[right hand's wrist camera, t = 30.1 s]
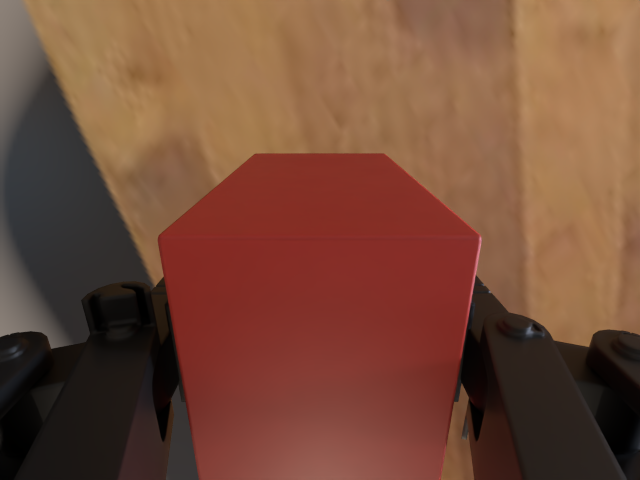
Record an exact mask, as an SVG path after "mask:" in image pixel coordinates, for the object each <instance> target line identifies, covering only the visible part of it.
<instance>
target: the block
mask: <svg viewBox="0 0 640 480" xmlns="http://www.w3.org/2000/svg"><path fill="white" fill-rule="evenodd" d="M481 241H482V239H481V235H480V234H478V233H477V232H476V231H475V230H474V229H473V228H471V227H470V226H469V225H468V224H467V223H466V222H464V221H463V220H462V219H461V218H460V217H458V216H457V215H456V214H455V213H454V212H453V211H451V210H450V209H449V208H448V207H447V206H446V205H444V204H443V203H442V202H441V201H440V200H438V199H437V198H436V197H435V196H434V195H433V194H431V193H430V192H429V191H428V190H427V189H426V188H424V187H423V186H422V185H421V184H420V183H418V182H417V181H416V180H415V179H414V178H413V177H411V176H410V175H409V174H408V173H407V172H406V171H404V170H403V169H402V168H401V167H400V166H398V165H397V164H396V163H395V162H394V161H393V160H391V159H390V158H389V157H388V156H387V155H386V154H254V155H253V156H252V157H251V158H249V159H248V160H247V161H246V162H245V163H244V164H242V165H241V166H240V167H239V168H238V169H236V170H235V171H234V172H233V173H232V174H231V175H229V176H228V177H227V178H226V179H225V180H224V181H222V182H221V183H220V184H219V185H218V186H216V187H215V188H214V189H213V190H212V191H211V192H209V193H208V194H207V195H206V196H205V197H203V198H202V199H201V200H200V201H199V202H198V203H196V204H195V205H194V206H193V207H192V208H191V209H189V210H188V211H187V212H186V213H185V214H183V215H182V216H181V217H180V218H179V219H178V220H176V221H175V222H174V223H173V224H172V225H170V226H169V227H168V228H167V229H166V230H165V231H163V232H162V233H161V234H160V235H159V237H158V245H159V251H160V256H161V262H162V268H163V274H164V280H165V285H166V291H167V297H168V303H169V308H170V314H171V320H172V326H173V331H174V337H175V343H176V349H177V355H178V360H179V366H180V372H181V378H182V383H183V389H184V395H185V401H186V407H187V412H188V418H189V424H190V429H191V435H192V441H193V447H194V453H195V458H196V464H197V470H198V476H199V480H441V474H442V468H443V462H444V457H445V451H446V445H447V439H448V433H449V427H450V422H451V416H452V410H453V404H454V398H455V392H456V387H457V381H458V375H459V369H460V363H461V357H462V352H463V346H464V340H465V334H466V328H467V322H468V317H469V311H470V305H471V299H472V293H473V287H474V282H475V276H476V270H477V264H478V258H479V252H480V247H481Z"/></svg>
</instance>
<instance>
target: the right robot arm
mask: <svg viewBox="0 0 640 480" xmlns="http://www.w3.org/2000/svg"><path fill="white" fill-rule="evenodd" d="M81 301H82V305H83V309H84V312H85V316H86V320H87V323H88V327H89V331H90V336H89V337H88V339H87V341H86V342H84V343H80V344H75V345H69V346H64V347H59V348H54V349H51V347H50V344H49V341H48V338H47V336H46V335H44V334H43V333H41V332H32V331H30V332H21V333H19V332H18V333H13V334H10V335H5V336H2V337H0V480H166V473H167V465H168V457H169V449H170V441H171V433H172V426H173V418H174V412H173V406H172V400H171V398H172V396H173V394H174V392H175V390H176V388H177V386H178V384H179V390H180V395H181V401H182V402H186V401H185V395H184V389H183V383H182V378H181V372H180V366H179V360H178V355H177V349H176V343H175V337H174V331H173V326H172V320H171V314H170V308H169V303H168V297H167V291H166V285H165V280H164V277H163V278H162V279H161V281H160V282H159V283H158V284H157V285H156V287H154V289H153V290H152V291H150V287H149V286H148V285H146V284H145V283H141V282H136V281H132V282H120V283H114V284H110V285H107V286H104V287H101V288H98V289H96V290H94V291H92V292H91V293H89V294H87V295H86V296H85V297H84V298H83V299H82V300H81ZM461 383H462V384H463V386H464V388H465V390H466V392H467V394H468V396H469V400H468V406H467V411H466V416H465V421H464V427H463V432H462V438H461V439H466V440H467V435H468V433H469V440H470V448H471V456H472V464H473V472H474V480H640V335H638V334H634V333H632V334H631V333H630V332H627V331H617V330H602V331H598V332H596V333H595V334H593V337H592V340H591V343H590V346H589V347H585V346H580V345H574V344H569V343H563V342H558V341H554V340H553V339H552V337H551V335H550V333H549V332H548V331H547V330H546V329H545V327H544V326H542V325H541V324H539V323H538V322H536V321H534V320H532V319H530V318H527V317H525V316H522V315H518V314H513V313H509V312H508V311H507V310H506V309H505V308H504V307H503V305H502V304H501V303H500V302H499V301H498V300H497V299H496V297H495V296H494V295H493V294H492V293H490V291H489V290H488V288H487V287H486V286H484V284H483V283H482V282H481V280H480V279H479V278H478V277H477V276H475V282H474V287H473V293H472V299H471V305H470V311H469V317H468V322H467V328H466V334H465V340H464V346H463V352H462V357H461V363H460V369H459V375H458V381H457V387H456V392H455V398H454V402H458V400H459V394H460V388H461Z"/></svg>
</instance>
